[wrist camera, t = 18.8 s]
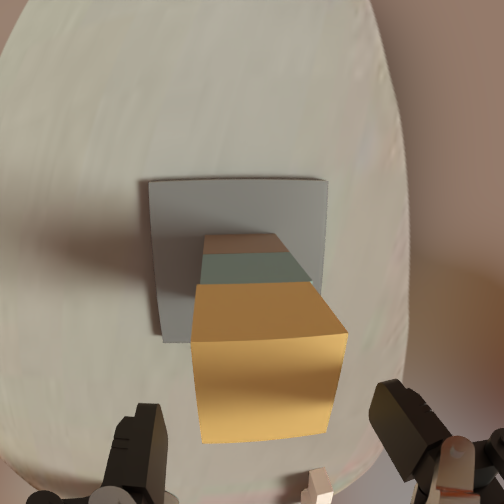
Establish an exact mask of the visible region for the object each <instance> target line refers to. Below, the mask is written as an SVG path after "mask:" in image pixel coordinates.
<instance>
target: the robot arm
mask: <svg viewBox="0 0 504 504" xmlns="http://www.w3.org/2000/svg"><path fill="white" fill-rule="evenodd" d="M369 420H370V423H371V425H372V427H373V429H374V430H375V432H376V434H377V436H378V437H379V439H380V441H381V443H382V444H383V446H384V448H385V450H386V451H387V453H388V455H389V456H390V458H391V460H392V462H393V463H394V465H395V467H396V469H397V471H398V472H399V474H400V476H401V477H402V479H403V481H404V482H407V481H410V480H412V479H415V480H416V481H417V483H416V485H415V487H414V491H413V495H412V499H411V503H410V504H504V490H503V488H502V486H501V485H500V483H499V482H498V480H497V479H496V477H495V476H496V475H497V474H498V473H499V474H500V475H501V477H502V478H503V479H504V428H500V429H497V430H495V431H494V432H493V433H492V435H491V436H490V438H489V439H488V440H483V441H477V442H471V441H470V440H468V439H467V438H465V437H463V436H452V435H451V433H450V432H449V431H448V430H447V428H446V427H445V426H444V424H443V423H442V422H441V421H440V420H439V418H438V417H437V416H436V414H435V413H434V412H432V409H431V408H430V407H429V406H428V405H426V402H425V401H424V400H423V399H422V397H421V396H420V395H419V394H418V393H416V392H415V391H413V390H412V389H410V388H408V389H406V388H405V387H404V386H403V384H402V383H401V382H400V381H399V380H398V379H392V380H388V381H384V382H380V383H378V384H377V386H376V389H375V393H374V396H373V399H372V402H371V406H370V409H369ZM167 452H168V435H167V430H166V426H165V422H164V418H163V414H162V411H161V407H160V404H149V403H138V405H137V408H136V413H135V417H128V416H125V417H124V418H123V419H122V420H121V422H120V423H119V424H118V425H117V427H116V430H115V434H114V440H113V442H112V446H111V450H110V454H109V458H108V462H107V466H106V471H105V475H104V479H103V483H102V485H101V487H100V488H99V489H97V490H95V491H94V492H93V493H92V494H91V495H90V496H88V497H84V498H74V499H61V498H60V497H59V496H58V495H56V494H55V493H53V492H50V491H46V490H41V491H37V492H35V493H33V494H32V495H30V497H29V498H28V499H27V502H26V504H179V501H178V499H177V498H176V497H175V496H173V495H172V494H170V493H168V492H165V478H166V464H167Z"/></svg>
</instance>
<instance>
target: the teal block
mask: <svg viewBox="0 0 504 504" xmlns="http://www.w3.org/2000/svg"><path fill="white" fill-rule="evenodd" d="M309 281H310V282H311V284H313V281H312V279H311V278H310V277H309V276H308V274H307V273H306V272H305V271H304V269H303V268H302V267H301V266H300V264H299V263H298V262H297V260H296V259H295V258H294V257H293V255H292V254H291V253H290V252H272V253H236V254H203V259H202V269H201V279H200V284H248V283H282V282H309Z"/></svg>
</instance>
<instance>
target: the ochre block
mask: <svg viewBox="0 0 504 504" xmlns="http://www.w3.org/2000/svg"><path fill="white" fill-rule="evenodd" d="M347 338H348V332H347V330H346V329H345V328H344V326H343V325H342V324H341V322H340V321H339V320H338V318H337V317H336V316H335V314H334V313H333V312H332V310H331V309H330V308H329V306H328V305H327V304H326V302H325V301H324V300H323V298H322V297H321V296H320V294H319V293H318V292H317V290H316V289H315V288H314V286H313V285H312V284H311V282H310V281H309V282H282V283H248V284H197V286H196V295H195V304H194V313H193V323H192V333H191V352H192V363H193V372H194V382H195V391H196V399H197V407H198V415H199V423H200V430H201V437H202V444H204V443H237V442H253V441H265V440H275V439H284V438H292V437H300V436H307V435H313V434H320V433H326V429H327V426H328V422H329V418H330V414H331V410H332V406H333V402H334V398H335V394H336V390H337V386H338V381H339V377H340V372H341V368H342V363H343V358H344V353H345V348H346V343H347Z"/></svg>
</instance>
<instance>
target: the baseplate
mask: <svg viewBox="0 0 504 504" xmlns="http://www.w3.org/2000/svg"><path fill="white" fill-rule="evenodd" d="M148 183H149V207H150V225H151V239H152V252H153V263H154V274H155V283H156V292H157V301H158V309H159V317H160V324H161V331H162V338H163V343H191V333H192V323H193V313H194V304H195V295H196V286H197V284H200V279H201V269H202V259H203V254H236V253H272V252H290V253H291V254H292V255H293V257H294V258H295V259H296V260H297V262H298V263H299V264H300V266H301V267H302V268H303V269H304V271H305V272H306V273H307V274H308V276H309V277H310V278H311V279H312V281H313V284H312V285H313V286H314V288H315V289H316V290H317V292H318V293H319V294H320V296H321V286H322V275H323V264H324V251H325V237H326V220H327V202H328V181H326V180H311V179H192V180H167V181H151V182H148Z"/></svg>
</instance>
